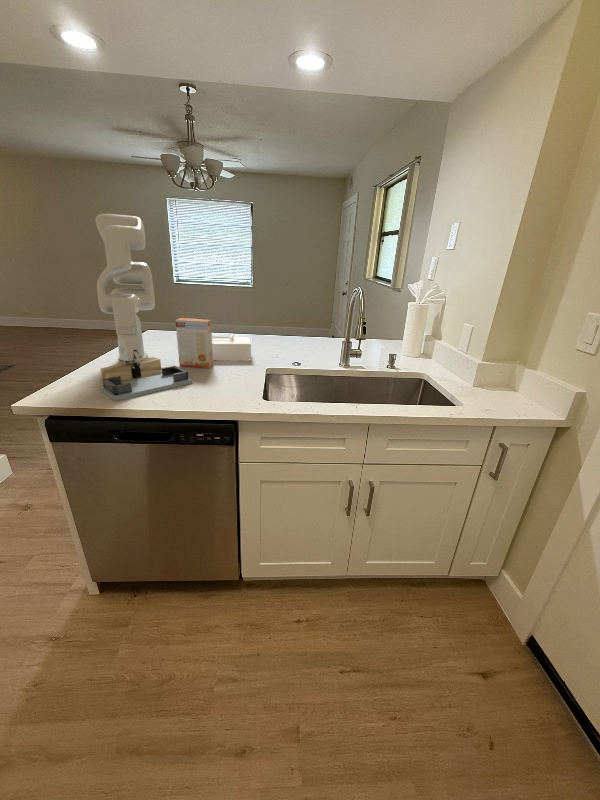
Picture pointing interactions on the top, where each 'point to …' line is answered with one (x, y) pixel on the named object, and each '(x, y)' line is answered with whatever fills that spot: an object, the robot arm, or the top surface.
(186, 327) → the cracker box
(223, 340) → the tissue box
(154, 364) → the slat
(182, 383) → the rail base
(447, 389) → the top surface
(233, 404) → the top surface
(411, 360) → the top surface
